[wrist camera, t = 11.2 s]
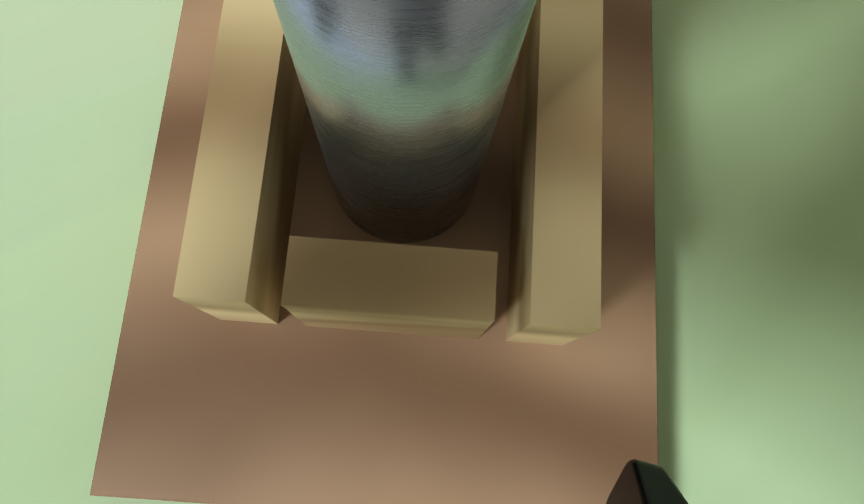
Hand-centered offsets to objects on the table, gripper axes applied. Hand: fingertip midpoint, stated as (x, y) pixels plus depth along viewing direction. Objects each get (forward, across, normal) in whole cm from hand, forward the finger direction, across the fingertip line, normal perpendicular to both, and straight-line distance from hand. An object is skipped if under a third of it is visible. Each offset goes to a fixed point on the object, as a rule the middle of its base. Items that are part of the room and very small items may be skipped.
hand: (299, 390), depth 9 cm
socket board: (+11, 0, +2) cm, 11 cm away
